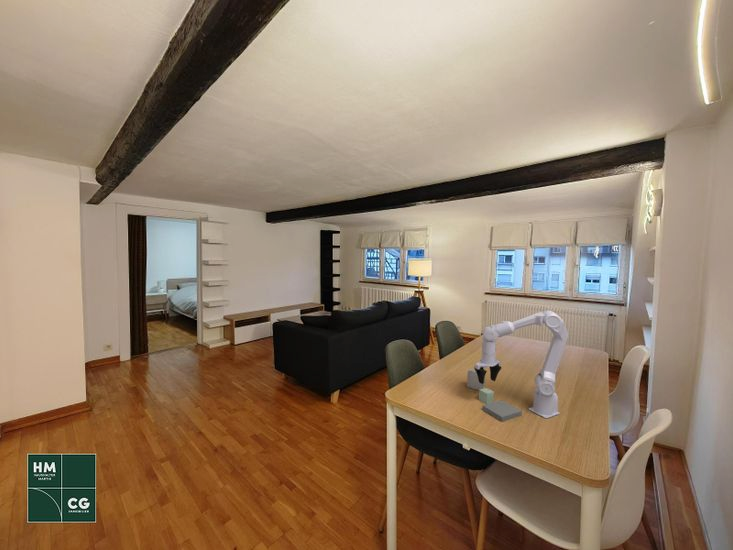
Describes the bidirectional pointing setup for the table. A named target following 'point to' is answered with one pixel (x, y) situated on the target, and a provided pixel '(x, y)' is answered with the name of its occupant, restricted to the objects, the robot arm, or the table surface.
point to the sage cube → (486, 395)
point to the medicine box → (474, 380)
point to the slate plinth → (501, 410)
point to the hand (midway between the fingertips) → (487, 381)
